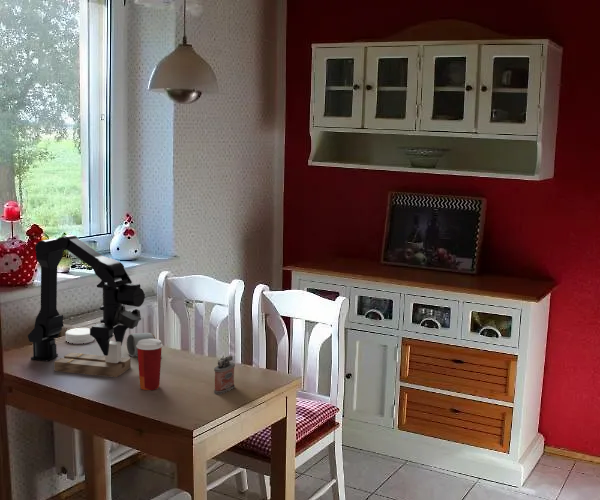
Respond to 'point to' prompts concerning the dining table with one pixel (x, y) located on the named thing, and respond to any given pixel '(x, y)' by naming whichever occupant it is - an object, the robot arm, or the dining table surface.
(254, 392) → the dining table surface
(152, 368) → the paper cup
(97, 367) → the fader track
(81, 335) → the white bowl
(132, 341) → the ceramic mug
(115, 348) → the fader tab
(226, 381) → the lighter
